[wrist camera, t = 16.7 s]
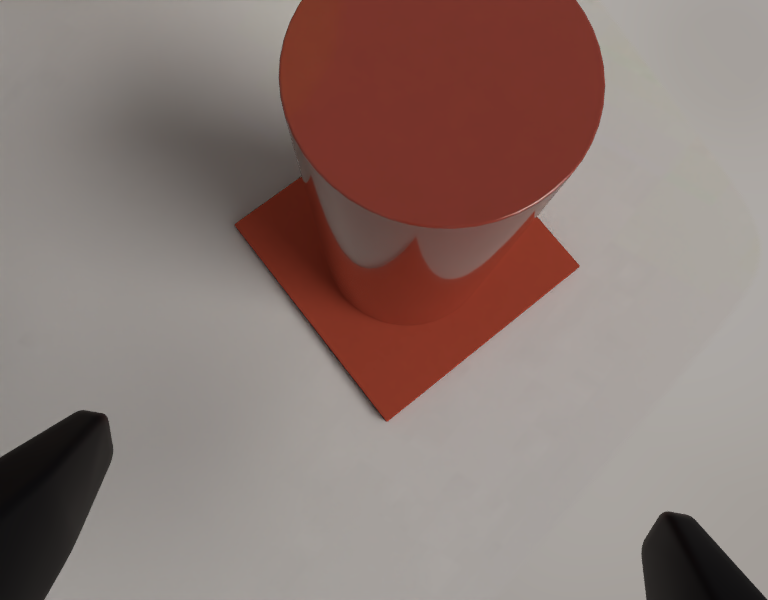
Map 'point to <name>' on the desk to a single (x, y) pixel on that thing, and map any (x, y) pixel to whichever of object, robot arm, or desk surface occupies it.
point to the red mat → (388, 341)
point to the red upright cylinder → (434, 137)
